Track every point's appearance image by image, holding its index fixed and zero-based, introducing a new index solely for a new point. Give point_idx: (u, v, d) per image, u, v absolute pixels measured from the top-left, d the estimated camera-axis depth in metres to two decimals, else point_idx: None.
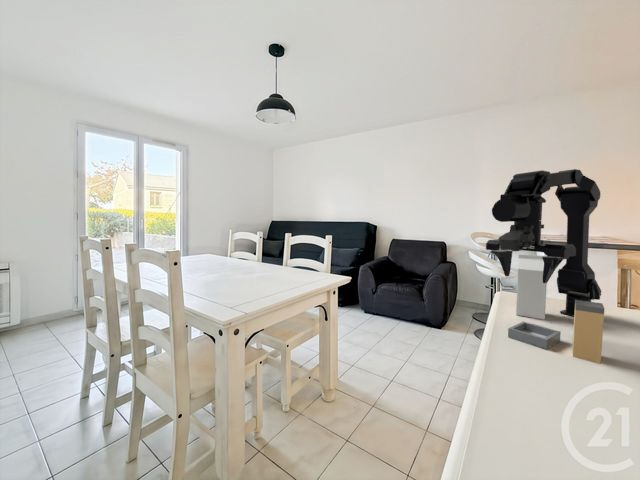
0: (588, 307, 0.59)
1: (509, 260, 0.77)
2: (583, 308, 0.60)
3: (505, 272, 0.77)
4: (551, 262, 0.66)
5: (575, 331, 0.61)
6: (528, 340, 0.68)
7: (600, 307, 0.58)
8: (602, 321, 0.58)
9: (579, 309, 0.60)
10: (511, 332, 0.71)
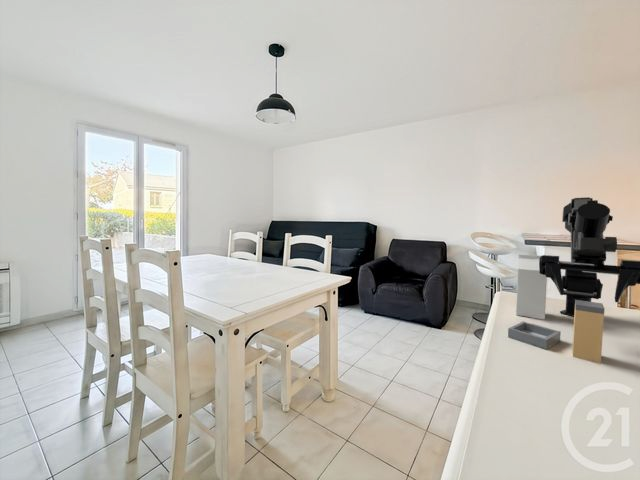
0: (588, 307, 0.59)
1: None
2: (583, 308, 0.60)
3: (561, 288, 0.67)
4: (630, 276, 0.61)
5: (575, 331, 0.61)
6: (528, 340, 0.68)
7: (600, 307, 0.58)
8: (602, 321, 0.58)
9: (579, 309, 0.60)
10: (511, 332, 0.71)
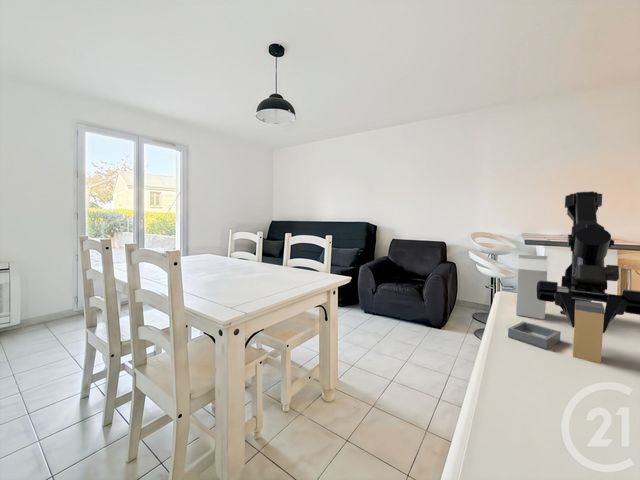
0: (588, 307, 0.59)
1: None
2: (583, 308, 0.60)
3: (573, 320, 0.62)
4: (617, 306, 0.59)
5: (575, 331, 0.61)
6: (528, 340, 0.68)
7: (600, 307, 0.58)
8: (602, 321, 0.58)
9: (579, 309, 0.60)
10: (511, 332, 0.71)
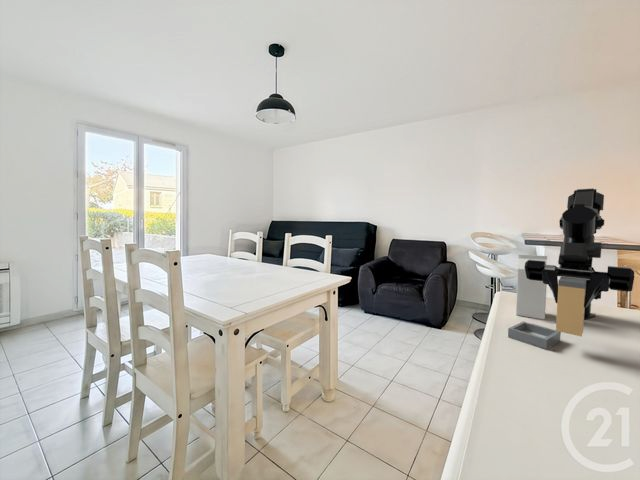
0: (570, 282, 0.61)
1: None
2: (565, 284, 0.62)
3: (556, 296, 0.64)
4: (599, 282, 0.60)
5: (558, 306, 0.63)
6: (528, 340, 0.68)
7: (581, 282, 0.60)
8: (583, 296, 0.60)
9: (561, 285, 0.62)
10: (511, 332, 0.71)
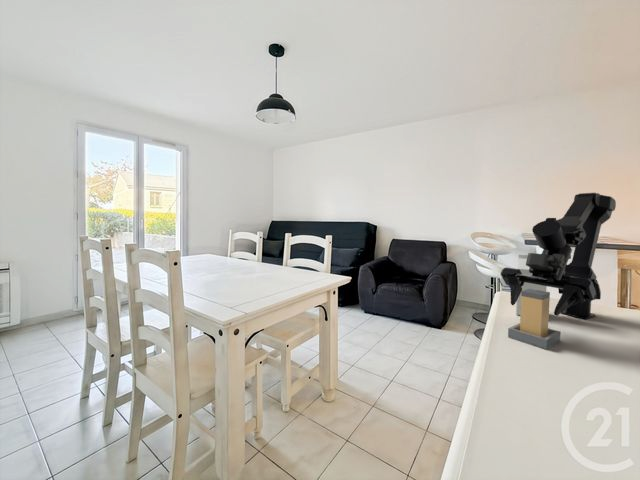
0: (531, 293, 0.68)
1: (518, 293, 0.75)
2: (527, 294, 0.69)
3: (512, 299, 0.73)
4: (572, 292, 0.64)
5: (521, 314, 0.70)
6: (528, 340, 0.68)
7: (540, 294, 0.67)
8: (541, 306, 0.67)
9: (524, 295, 0.70)
10: (511, 332, 0.71)
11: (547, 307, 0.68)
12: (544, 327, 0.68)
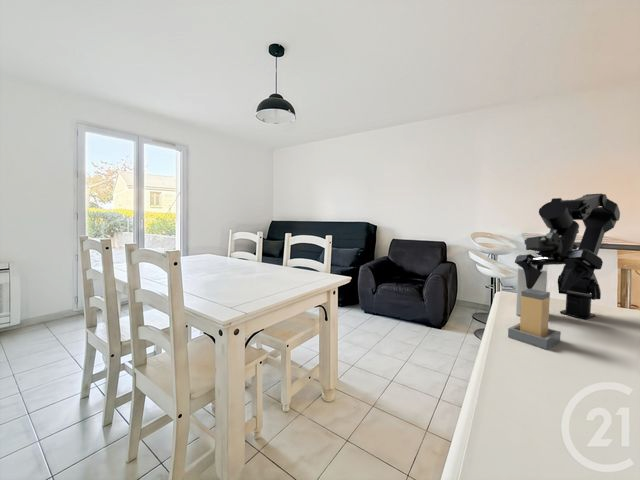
0: (531, 293, 0.68)
1: (535, 277, 0.78)
2: (527, 294, 0.69)
3: (527, 284, 0.77)
4: (573, 265, 0.67)
5: (521, 314, 0.70)
6: (528, 340, 0.68)
7: (540, 294, 0.67)
8: (541, 306, 0.67)
9: (524, 295, 0.70)
10: (511, 332, 0.71)
11: (547, 307, 0.68)
12: (544, 327, 0.68)
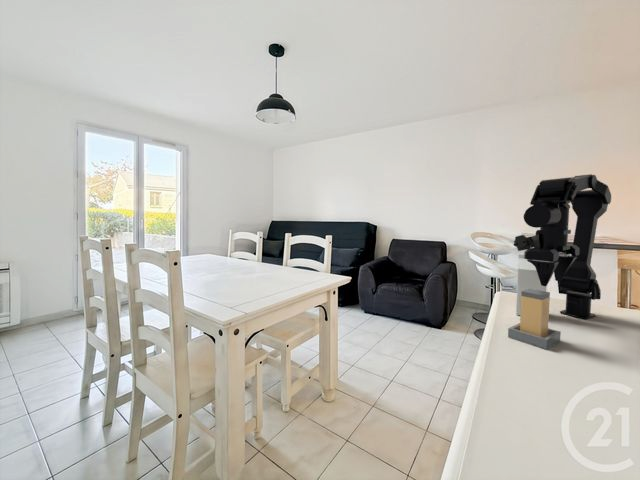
0: (531, 293, 0.68)
1: (564, 266, 0.76)
2: (527, 294, 0.69)
3: (555, 276, 0.78)
4: (533, 264, 0.72)
5: (521, 314, 0.70)
6: (528, 340, 0.68)
7: (540, 294, 0.67)
8: (541, 306, 0.67)
9: (524, 295, 0.70)
10: (511, 332, 0.71)
11: (547, 307, 0.68)
12: (544, 327, 0.68)
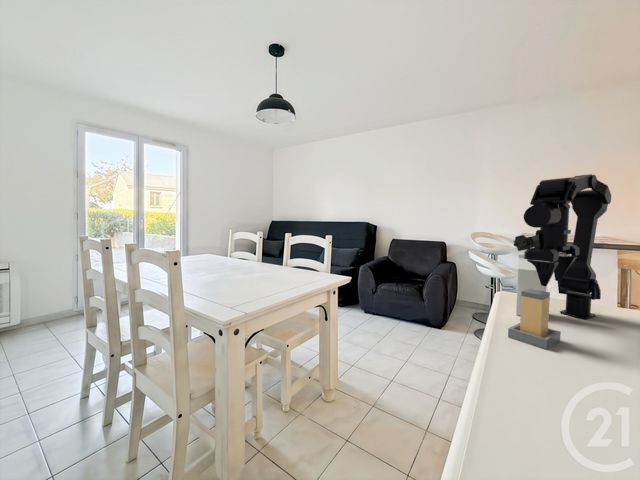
0: (531, 293, 0.68)
1: (564, 266, 0.76)
2: (527, 294, 0.69)
3: (555, 276, 0.78)
4: (533, 264, 0.72)
5: (521, 314, 0.70)
6: (528, 340, 0.68)
7: (540, 294, 0.67)
8: (541, 306, 0.67)
9: (524, 295, 0.70)
10: (511, 332, 0.71)
11: (547, 307, 0.68)
12: (544, 327, 0.68)
